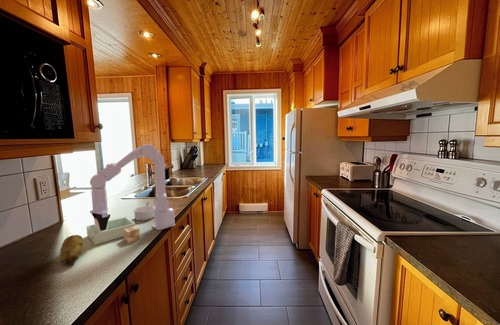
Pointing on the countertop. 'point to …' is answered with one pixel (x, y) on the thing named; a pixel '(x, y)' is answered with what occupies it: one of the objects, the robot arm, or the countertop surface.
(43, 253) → the countertop surface
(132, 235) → the maple cube
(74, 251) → the potato
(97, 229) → the pale pink egg
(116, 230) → the tote
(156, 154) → the robot arm
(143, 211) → the saucepan
